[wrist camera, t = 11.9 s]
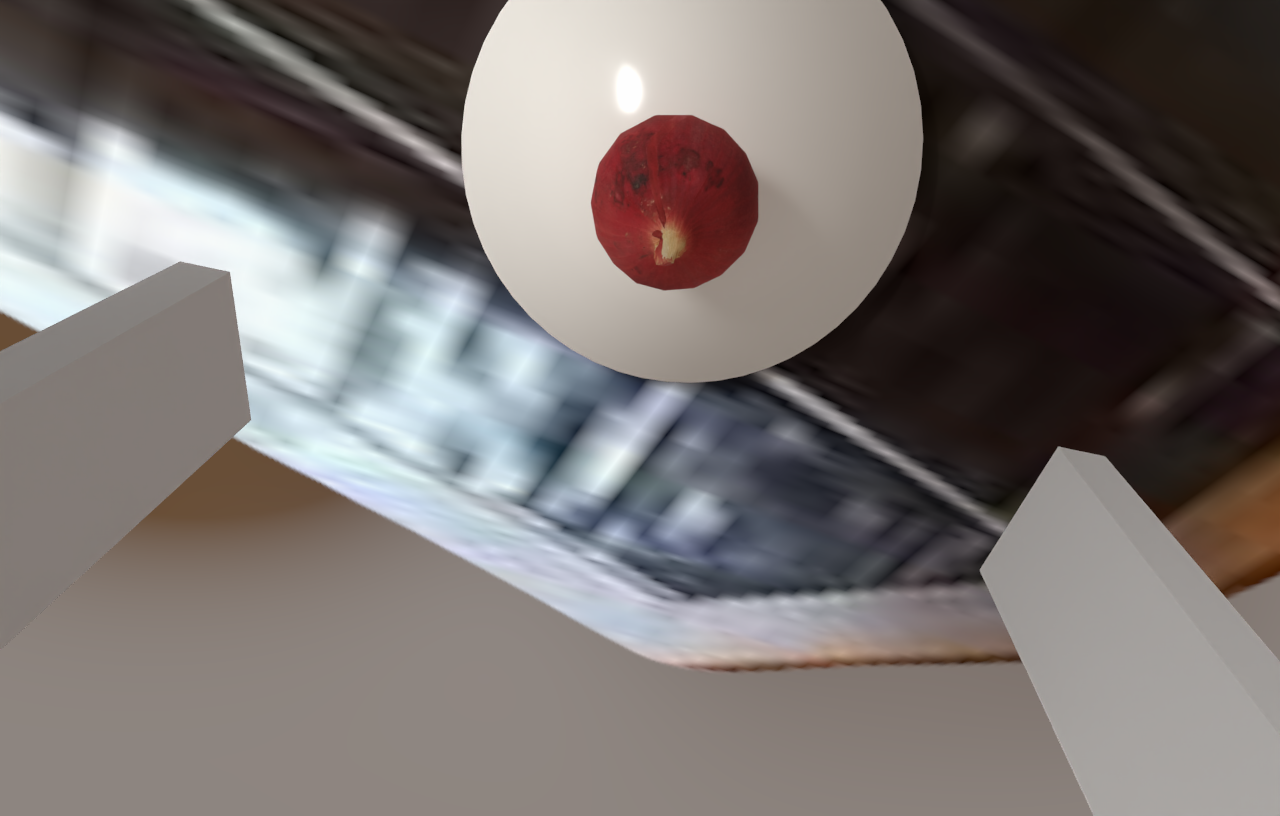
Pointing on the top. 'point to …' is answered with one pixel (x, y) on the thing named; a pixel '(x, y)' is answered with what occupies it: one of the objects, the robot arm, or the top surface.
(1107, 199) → the top surface
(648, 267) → the onion
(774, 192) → the plate
